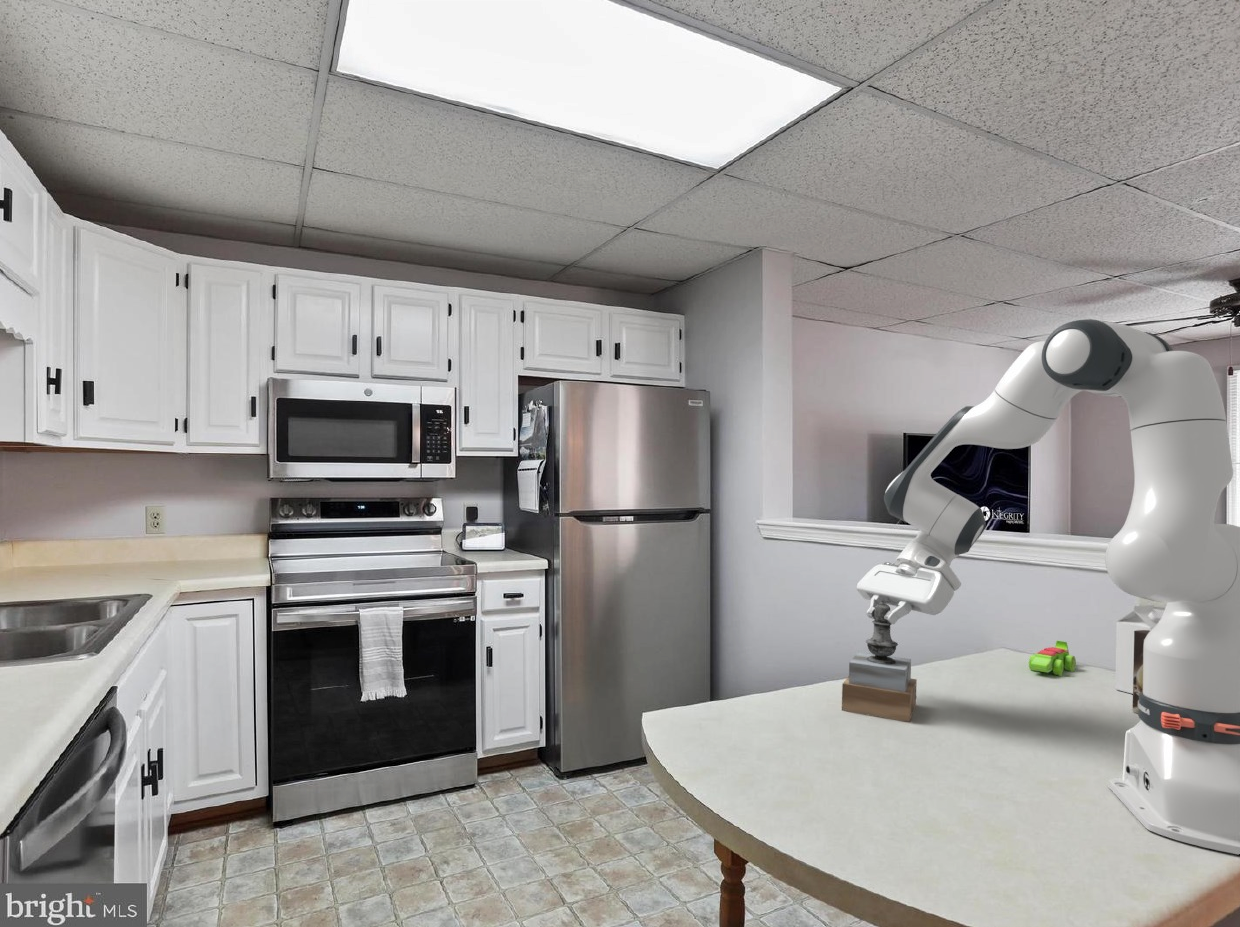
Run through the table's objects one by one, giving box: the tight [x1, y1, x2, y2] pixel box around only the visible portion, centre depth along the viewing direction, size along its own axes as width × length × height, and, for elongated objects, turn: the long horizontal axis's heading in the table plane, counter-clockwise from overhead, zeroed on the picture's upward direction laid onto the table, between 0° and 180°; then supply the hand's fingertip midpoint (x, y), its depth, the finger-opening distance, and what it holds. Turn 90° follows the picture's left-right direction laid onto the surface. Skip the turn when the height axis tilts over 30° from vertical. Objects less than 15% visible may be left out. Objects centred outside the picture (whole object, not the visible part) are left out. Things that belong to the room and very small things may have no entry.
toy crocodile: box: [1028, 640, 1077, 677], centre depth 173 cm, size 20×7×6 cm, turn 130°
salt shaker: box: [865, 599, 899, 664], centre depth 139 cm, size 6×6×12 cm
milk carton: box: [1114, 604, 1162, 695], centre depth 156 cm, size 7×7×19 cm
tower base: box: [841, 651, 918, 723], centre depth 139 cm, size 12×12×9 cm
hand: (879, 619), depth 139 cm, fingers closed on salt shaker, 3 cm apart
